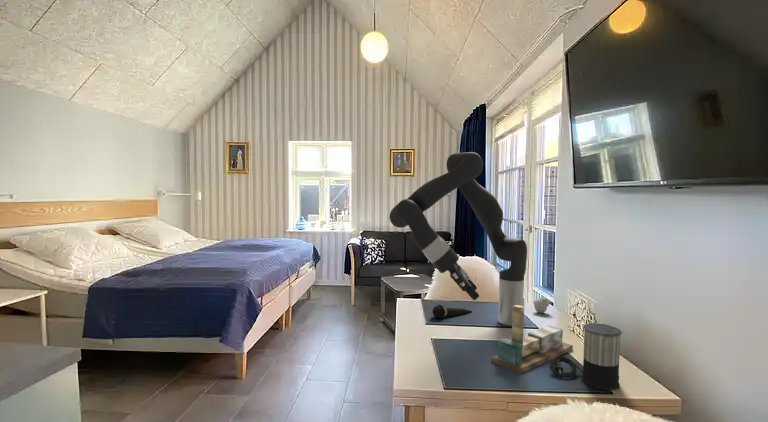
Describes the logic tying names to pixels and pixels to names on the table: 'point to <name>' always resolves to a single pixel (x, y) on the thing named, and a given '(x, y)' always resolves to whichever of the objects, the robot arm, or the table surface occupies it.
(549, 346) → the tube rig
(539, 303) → the frog figurine
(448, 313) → the microphone
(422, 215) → the robot arm
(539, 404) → the table surface
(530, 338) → the cream l-shaped piece
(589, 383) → the milk frother
